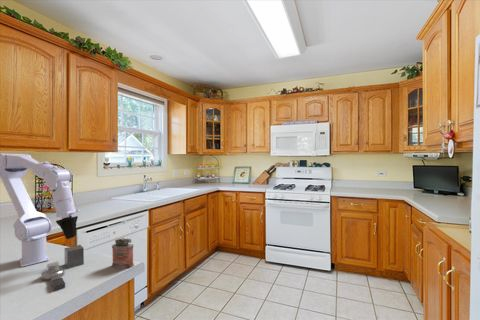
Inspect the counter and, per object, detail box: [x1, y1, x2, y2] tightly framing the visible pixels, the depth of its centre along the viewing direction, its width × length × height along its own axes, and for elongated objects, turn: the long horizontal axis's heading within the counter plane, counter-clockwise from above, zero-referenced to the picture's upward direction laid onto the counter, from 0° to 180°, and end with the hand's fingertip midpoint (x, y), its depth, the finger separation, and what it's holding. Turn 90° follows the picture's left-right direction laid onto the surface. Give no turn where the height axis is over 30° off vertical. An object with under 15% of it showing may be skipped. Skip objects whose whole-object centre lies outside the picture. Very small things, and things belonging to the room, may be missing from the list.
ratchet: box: [41, 261, 66, 292], centre depth 76 cm, size 15×6×4 cm, turn 45°
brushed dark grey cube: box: [63, 244, 85, 269], centre depth 89 cm, size 5×5×6 cm
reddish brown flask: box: [111, 237, 135, 269], centre depth 87 cm, size 8×3×10 cm, turn 80°
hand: (71, 237), depth 87 cm, fingers open, 7 cm apart
